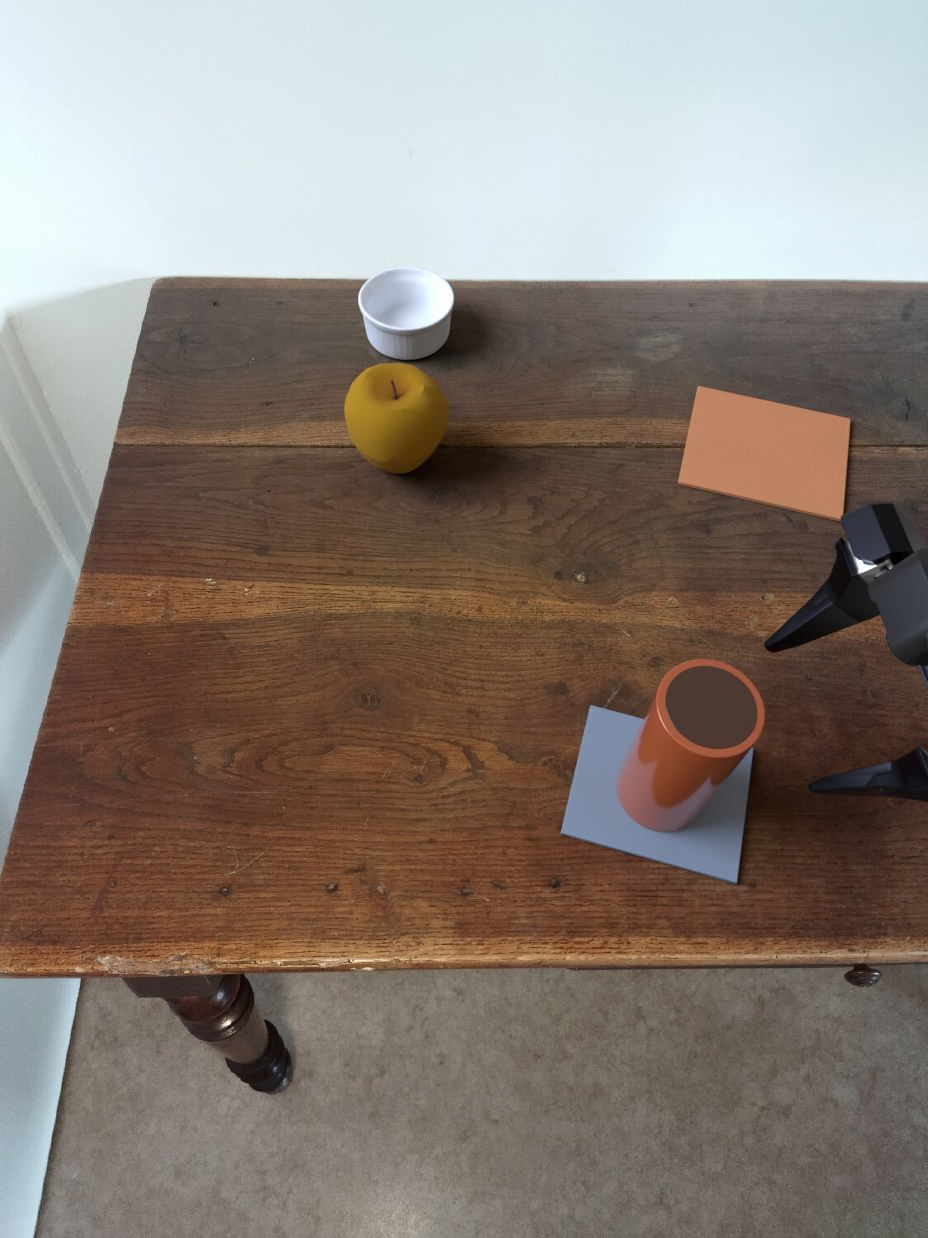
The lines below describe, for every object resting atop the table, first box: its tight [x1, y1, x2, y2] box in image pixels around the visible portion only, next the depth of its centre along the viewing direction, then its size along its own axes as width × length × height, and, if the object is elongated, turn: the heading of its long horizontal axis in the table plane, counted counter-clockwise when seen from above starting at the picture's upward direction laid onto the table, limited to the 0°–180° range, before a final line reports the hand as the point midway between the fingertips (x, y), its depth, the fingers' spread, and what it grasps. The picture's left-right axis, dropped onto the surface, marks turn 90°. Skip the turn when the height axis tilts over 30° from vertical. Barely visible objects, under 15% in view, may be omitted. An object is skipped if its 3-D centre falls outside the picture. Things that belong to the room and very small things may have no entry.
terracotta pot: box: [616, 658, 766, 832], centre depth 56 cm, size 6×6×14 cm
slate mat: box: [560, 704, 754, 885], centre depth 62 cm, size 12×10×1 cm
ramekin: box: [357, 266, 455, 361], centre depth 84 cm, size 9×9×4 cm
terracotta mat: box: [677, 385, 851, 523], centre depth 78 cm, size 14×12×1 cm
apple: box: [343, 362, 450, 475], centre depth 74 cm, size 8×8×9 cm
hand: (788, 716), depth 53 cm, fingers open, 9 cm apart
